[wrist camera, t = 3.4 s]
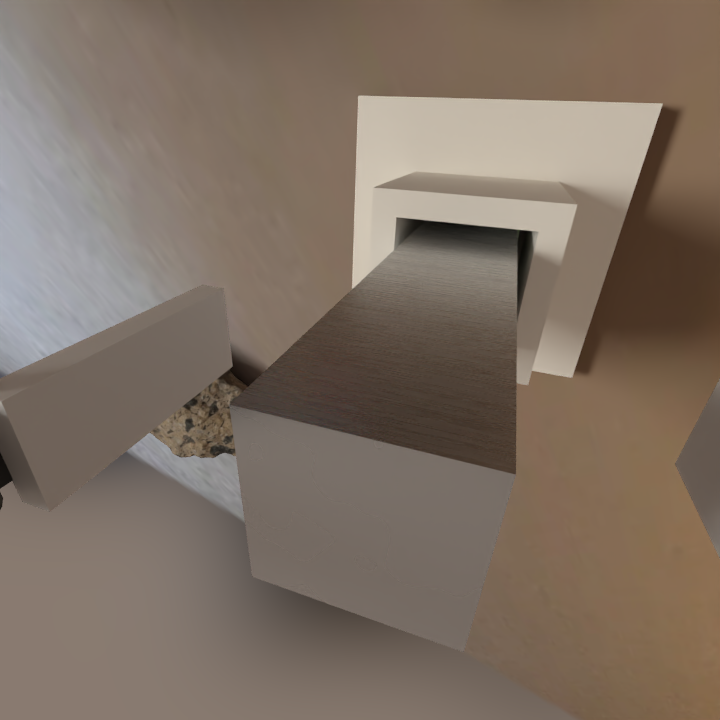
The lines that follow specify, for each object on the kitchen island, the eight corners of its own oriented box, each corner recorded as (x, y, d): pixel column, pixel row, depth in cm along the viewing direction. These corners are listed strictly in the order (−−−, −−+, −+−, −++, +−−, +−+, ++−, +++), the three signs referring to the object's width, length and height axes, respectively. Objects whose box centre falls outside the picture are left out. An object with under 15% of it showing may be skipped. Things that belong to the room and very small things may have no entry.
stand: (364, 97, 23) (288, 79, 15) (656, 104, 19) (745, 86, 12) (355, 331, 30) (299, 399, 22) (570, 370, 26) (591, 466, 18)
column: (438, 203, 23) (218, 393, 6) (521, 210, 22) (531, 468, 5) (428, 279, 25) (246, 578, 8) (504, 290, 24) (470, 660, 7)
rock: (238, 464, 41) (210, 497, 37) (141, 388, 40) (103, 415, 37) (289, 397, 35) (261, 429, 31) (175, 307, 34) (133, 329, 30)
